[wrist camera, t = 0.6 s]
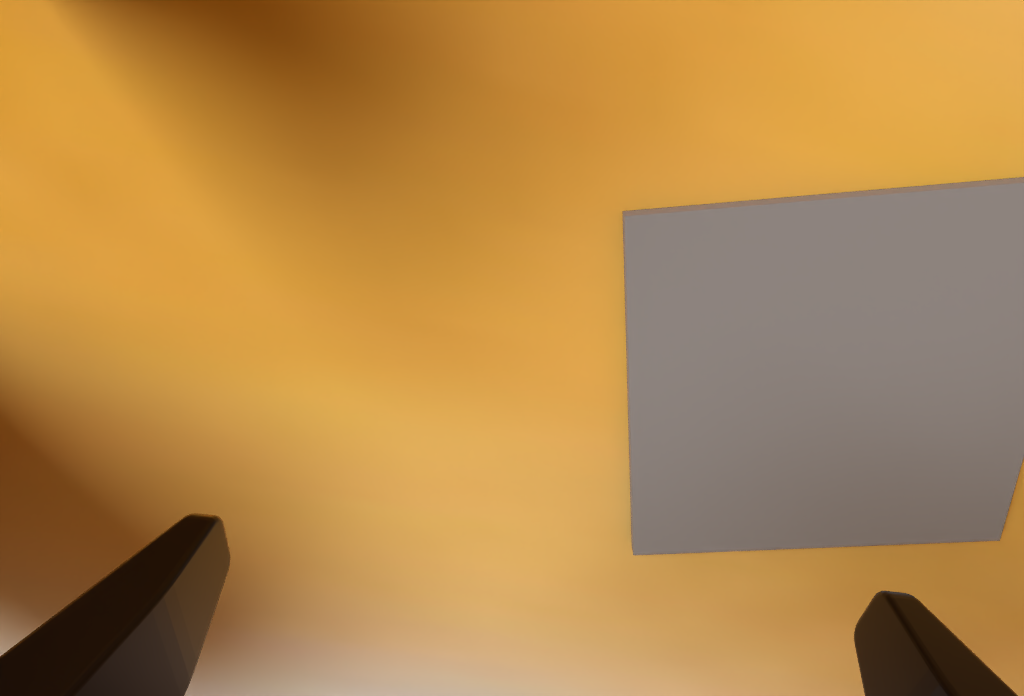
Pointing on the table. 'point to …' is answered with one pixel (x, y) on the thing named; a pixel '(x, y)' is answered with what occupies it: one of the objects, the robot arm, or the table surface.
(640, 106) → the table surface
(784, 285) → the gray mat
